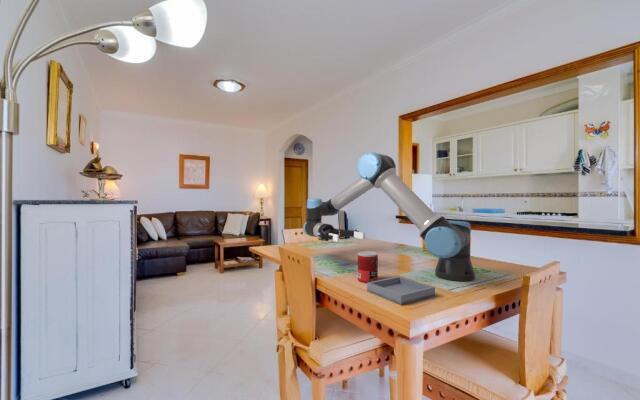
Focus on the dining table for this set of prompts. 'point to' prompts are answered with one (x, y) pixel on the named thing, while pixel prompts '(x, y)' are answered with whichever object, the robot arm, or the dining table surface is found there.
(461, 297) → the dining table surface
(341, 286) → the dining table surface
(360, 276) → the canned food
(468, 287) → the dining table surface
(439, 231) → the robot arm
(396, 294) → the tray
